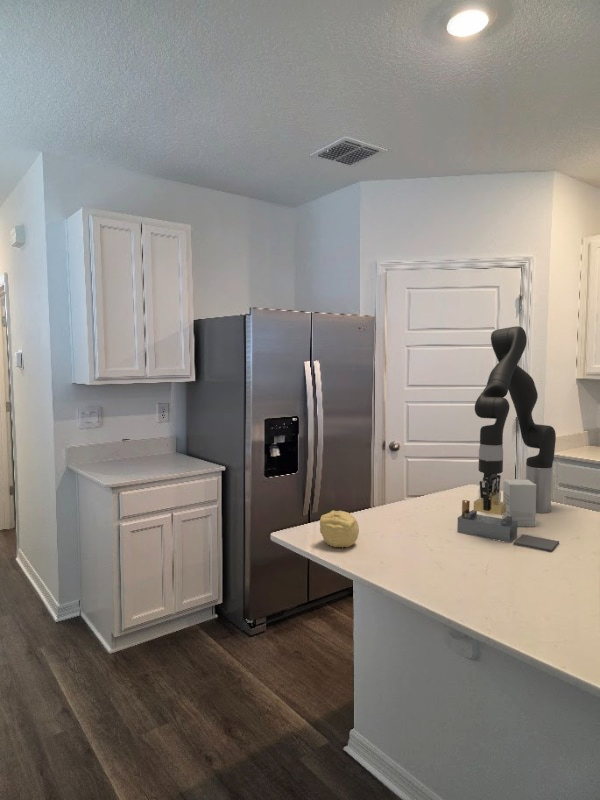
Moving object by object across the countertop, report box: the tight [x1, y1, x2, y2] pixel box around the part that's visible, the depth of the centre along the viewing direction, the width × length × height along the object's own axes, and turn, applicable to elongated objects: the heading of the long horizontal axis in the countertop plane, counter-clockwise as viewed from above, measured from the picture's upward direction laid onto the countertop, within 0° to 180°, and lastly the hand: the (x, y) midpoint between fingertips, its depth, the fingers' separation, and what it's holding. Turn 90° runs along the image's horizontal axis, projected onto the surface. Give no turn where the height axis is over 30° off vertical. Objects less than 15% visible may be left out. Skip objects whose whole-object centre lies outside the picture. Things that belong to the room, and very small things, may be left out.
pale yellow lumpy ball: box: [319, 510, 360, 549], centre depth 164 cm, size 12×12×11 cm
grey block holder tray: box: [456, 499, 518, 544], centre depth 175 cm, size 8×17×10 cm, turn 52°
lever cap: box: [473, 492, 506, 516], centre depth 174 cm, size 5×9×6 cm, turn 52°
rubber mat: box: [512, 533, 560, 553], centre depth 166 cm, size 10×11×1 cm
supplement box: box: [502, 478, 537, 528], centre depth 188 cm, size 9×9×15 cm
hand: (489, 508), depth 175 cm, fingers closed on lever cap, 5 cm apart
